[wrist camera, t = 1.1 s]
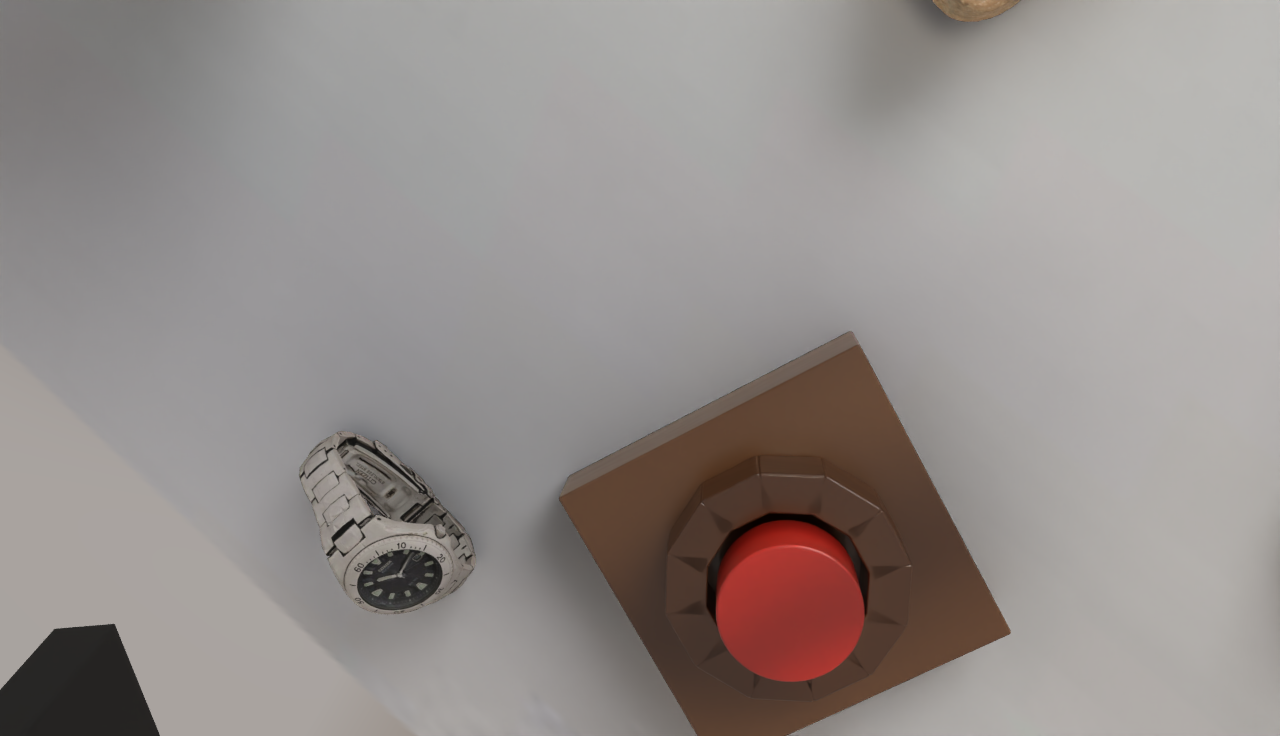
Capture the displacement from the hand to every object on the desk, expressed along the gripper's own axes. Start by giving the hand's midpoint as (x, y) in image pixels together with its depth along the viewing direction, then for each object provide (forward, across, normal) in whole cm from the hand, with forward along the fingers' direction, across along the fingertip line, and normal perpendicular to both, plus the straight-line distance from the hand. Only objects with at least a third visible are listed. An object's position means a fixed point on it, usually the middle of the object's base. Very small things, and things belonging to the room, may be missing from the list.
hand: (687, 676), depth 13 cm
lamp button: (+18, 0, -11) cm, 21 cm away
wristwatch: (+21, -11, -9) cm, 26 cm away
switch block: (+21, 0, -12) cm, 24 cm away
